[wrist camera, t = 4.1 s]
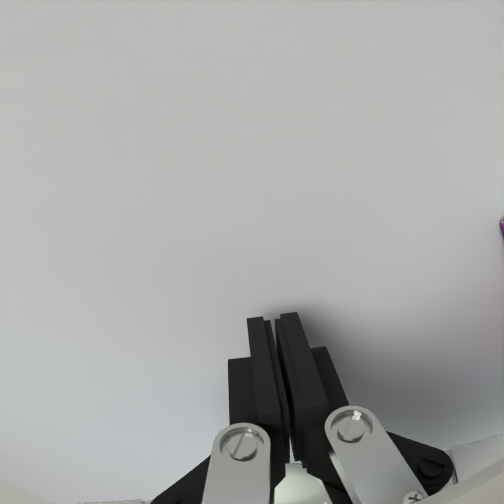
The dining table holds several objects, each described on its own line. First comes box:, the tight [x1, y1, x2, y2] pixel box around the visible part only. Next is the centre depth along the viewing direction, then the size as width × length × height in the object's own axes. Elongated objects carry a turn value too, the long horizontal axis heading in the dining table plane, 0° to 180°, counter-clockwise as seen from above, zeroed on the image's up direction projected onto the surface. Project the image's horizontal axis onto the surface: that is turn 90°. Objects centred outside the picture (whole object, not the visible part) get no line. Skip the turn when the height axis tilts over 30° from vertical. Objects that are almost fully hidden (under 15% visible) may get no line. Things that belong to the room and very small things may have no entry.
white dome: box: [275, 464, 326, 504], centre depth 17 cm, size 10×10×1 cm
